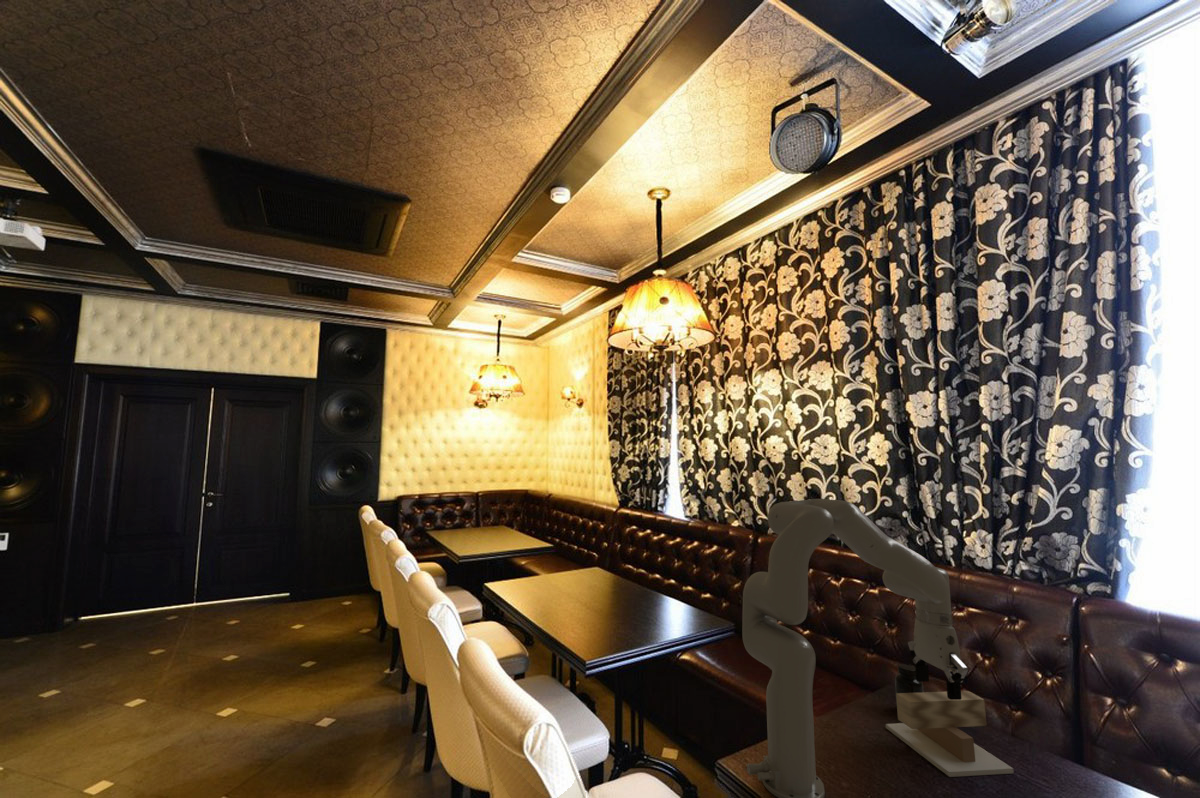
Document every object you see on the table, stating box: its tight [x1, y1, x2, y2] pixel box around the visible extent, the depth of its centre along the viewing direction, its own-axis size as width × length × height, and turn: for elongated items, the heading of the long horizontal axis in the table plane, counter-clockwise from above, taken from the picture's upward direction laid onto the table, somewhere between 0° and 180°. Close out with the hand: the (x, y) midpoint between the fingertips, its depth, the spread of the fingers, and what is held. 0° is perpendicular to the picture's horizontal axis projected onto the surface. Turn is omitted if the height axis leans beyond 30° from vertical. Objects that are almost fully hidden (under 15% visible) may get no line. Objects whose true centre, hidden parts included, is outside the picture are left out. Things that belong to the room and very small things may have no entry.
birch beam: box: [895, 690, 987, 729], centre depth 117 cm, size 20×4×6 cm, turn 96°
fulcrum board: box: [885, 722, 1015, 778], centre depth 116 cm, size 16×20×6 cm
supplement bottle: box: [894, 663, 925, 706], centre depth 134 cm, size 7×7×12 cm
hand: (937, 689), depth 117 cm, fingers open, 9 cm apart
